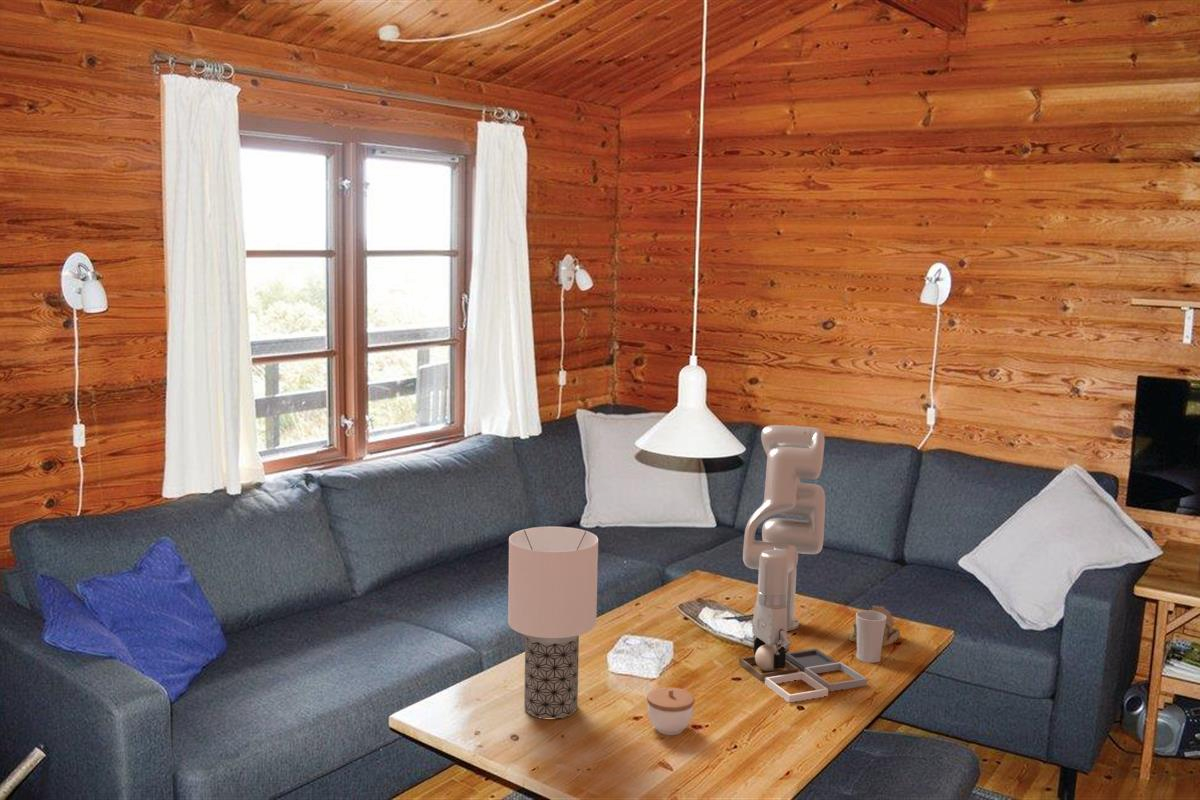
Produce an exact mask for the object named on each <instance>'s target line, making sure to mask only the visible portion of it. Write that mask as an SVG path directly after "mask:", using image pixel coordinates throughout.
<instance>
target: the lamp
mask: <svg viewBox="0 0 1200 800" xmlns="http://www.w3.org/2000/svg"><path fill="white" fill-rule="evenodd" d="M598 562H599V538H598V536H597V534H594V533H593V532H590V531H588V530H584V529H581V528H576V527H567V526H536V527H530V528H529V527H528V528H525V529H521V530H518V531H514V532H513V533H512V534H510V536H509V538H508V585H507V586H508V593H507V594H508V595H507V596H508V597H507V599H508V601H507V602H508V605H507V607H508V608H507V617H508V618H507V624H508V626H509V627H510V628H511V629H512V630H513V631H515V632H516V633H519V634H521V635H524V636H525V637H524V692H523V693H524V700H523V701H524V706H523V707H524V710H525V711H526V713H527V714H528V715H530V714H531V715H530V716H532V715H534V716H536V717H535V718H537V717H541V718H561V719H563V718H562V717H565V718H567V717H566V716H568V717H569V715H570V716H571V714H572V715H574V713H575V712H576V711H577V709H578V703H579V702H578V700H579V699H578V697H579V696H578V695H579V690H578V689H579V656H580V655H579V652H580V651H579V649H580V648H579V647H580V645H579V644H580V640H579V639H580V635H584V634H586V633H589V632H590V631H592V630H593V629H594V628H595V627H596V625H597V603H598V601H597V600H598ZM534 716H533V717H534ZM541 718H540V719H541Z"/></svg>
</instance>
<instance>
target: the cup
mask: <svg viewBox="0 0 1200 800" xmlns="http://www.w3.org/2000/svg"><path fill="white" fill-rule="evenodd" d="M869 610H870V609H868V610H866V609H865V610H859V611H857V612H856V613H855V623H856V626H857V642H856V656H855V657H857V658H856V659H857V660H858V659H859V660H858V661H860V662H863V663H869V664H870V663H871V664H872V663H873V664H874V663H875V662H876V663H879V662H880V661H881V656H882V648H883V647H882V642H883V635H884V629H885V623H886V616H885V615H884V614H882V613H880V612H876V611H869Z"/></svg>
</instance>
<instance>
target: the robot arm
mask: <svg viewBox="0 0 1200 800" xmlns="http://www.w3.org/2000/svg"><path fill="white" fill-rule="evenodd" d="M760 439H761V444H762V447H763V450H764V452H765V454H766V457H767V459H766V467H765V468H766V469H765V470H766V471H765V472H766V473H765V485H764V497H763V502H762V504H761V505H760V506H759V507H758V508H757V509H756V510H755V511H754V512H753V514H751V515H750V518H749V519H748V522H747V523H746V527H745V529H744V538H743V548H742V549H743V550H742V560H743V563H744V565H745V567H747V568H748V569H752V570H758V579H757V580H758V581H757V595H756V596H757V597H756V601H755V605H754V609H753V618H751V621H750V622H751V626H752V629H751V630H752V634H753V637H752V638H753V655H755V654H756V651H757V649H758V648H759V647H760V646H762V645H767V644H768V645H770V646H772V645H773V647H774V650H775V653H776V654H774V662H773V668H774V669H776V670H780V669H786V668H785V657H786V654H787V653H788V652H789V649H790V646H791V641H790V639H789V637H788V631H789V632H790V631H794V630H796V629H798V628H799V626H800V620H799V619H797V618H796V617H795V607H796V606H795V605H796V603H795V602H796V589H797V588H796V586H797V585H796V584H797V565H798V561H799V554H803V555H804V554H805V555H818V554H819V553H821V551H822V550H823V546H824V539H825V538H824V536H825V519H826V518H825V517H826V495H825V494H826V493H825V490H824V488H823V487H822V486H821V485H819V484H815V483H810V482H809V483H807V482H801V480H813V481H814V480H816V479H819V477H820V475H821V472H822V469H823V463H824V462H823V461H824V452H825V451H824V450H825V439H826V438H825V434H824V432H823V430H822V429H821V428H818V427H813V426H801V425H800V426H798V425H785V424H772V425H771V424H770V425H766V426H765V427H763V429H762V430H761V432H760ZM800 479H801V480H800ZM775 515H784V516H794V517H806V518H807V520H804V519H803V520H802V519H795V518H794V519H792V518H782V517H781V518H779V517H777V518H776V517H774V518H770V517H772V516H775ZM768 518H770V519H768ZM765 520H766V521H765ZM763 521H765V522H764V523H763V525H762V529H761V538H762V540H755V536H756V531H757V529H758V527H759V525H760V524H761V523H762V522H763ZM779 646H780V648H779Z"/></svg>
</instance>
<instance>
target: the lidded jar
mask: <svg viewBox="0 0 1200 800" xmlns="http://www.w3.org/2000/svg"><path fill="white" fill-rule="evenodd" d="M646 700H647V701H646V702H647V703H646V704H647V714H648V718H649V721H650V723H651V724H652V726H653V727H654V728H655V729H656V731H657V732H658V733H660V734H662V735H667V736H674V735H679V734H681V733H682V732H683V731H684V730H685V729H686V728H687V727H688V726H689V724H690V723H691V721H692V718H693V714H694V705H695V697H694V695H693V694H692V693H691V692H689V691H688V690H685V689H683V688H679V687H670V686H668V687H667V686H666V687H658V688H654V689H652V690H650V691H649V692H648V694H647V696H646Z"/></svg>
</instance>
